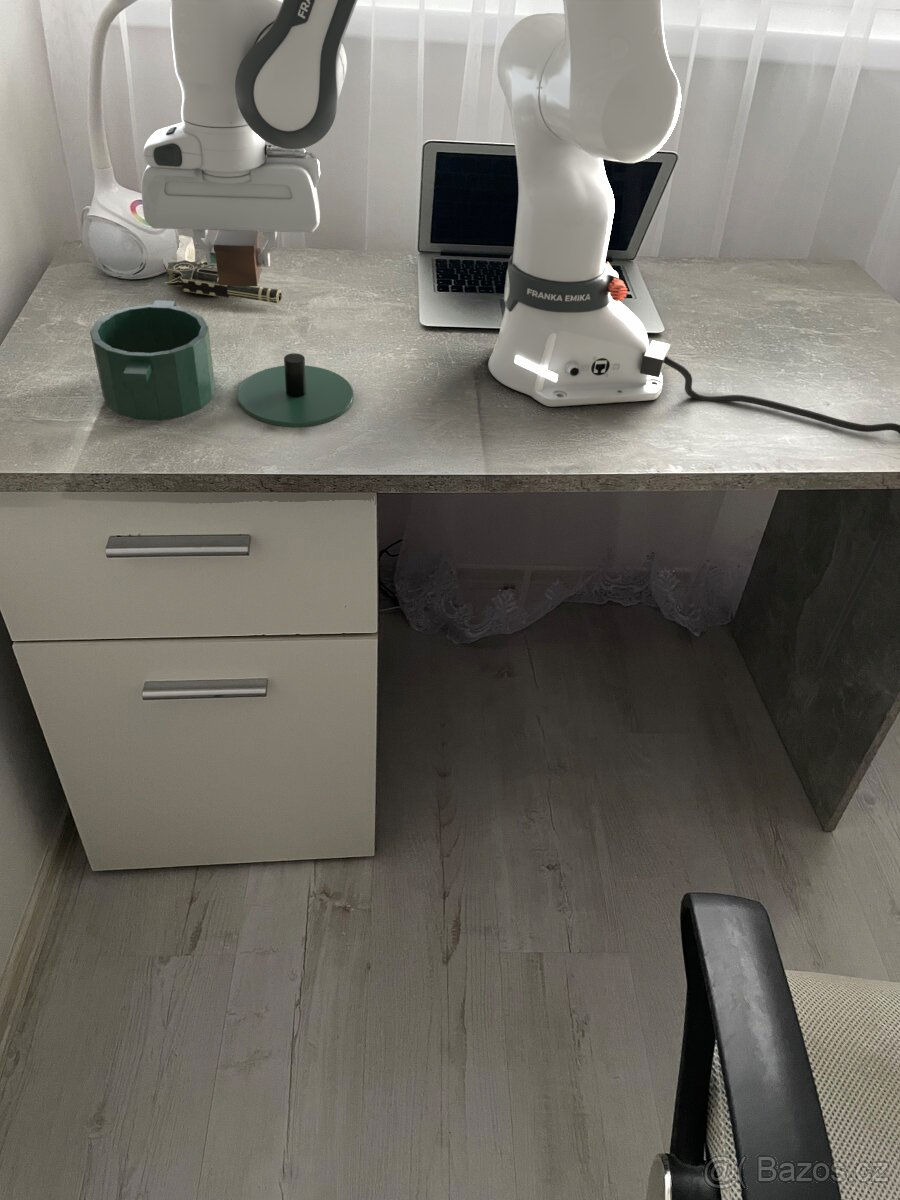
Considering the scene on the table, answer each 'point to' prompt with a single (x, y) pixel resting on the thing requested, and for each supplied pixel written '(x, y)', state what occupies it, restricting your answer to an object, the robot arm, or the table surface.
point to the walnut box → (237, 258)
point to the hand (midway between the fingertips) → (238, 264)
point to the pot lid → (295, 394)
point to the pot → (154, 361)
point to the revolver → (208, 277)
